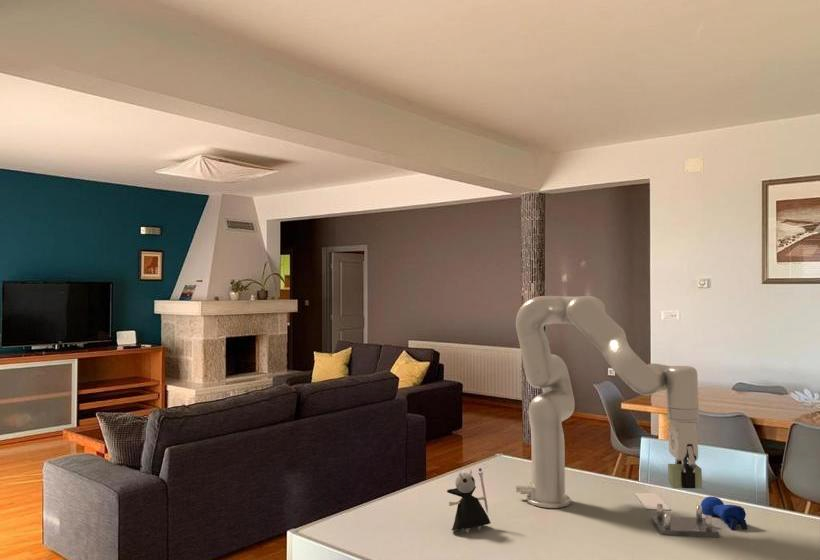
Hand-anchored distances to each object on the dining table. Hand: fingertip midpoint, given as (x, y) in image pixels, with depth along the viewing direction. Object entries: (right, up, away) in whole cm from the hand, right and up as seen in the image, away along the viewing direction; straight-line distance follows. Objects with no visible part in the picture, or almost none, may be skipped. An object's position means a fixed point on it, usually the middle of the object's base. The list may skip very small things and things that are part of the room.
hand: (685, 484), depth 163 cm
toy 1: (-56, -12, +1) cm, 57 cm away
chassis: (0, -11, 0) cm, 11 cm away
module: (0, 0, 0) cm, 0 cm away
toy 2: (+13, -12, +7) cm, 19 cm away
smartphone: (0, -12, +21) cm, 25 cm away
